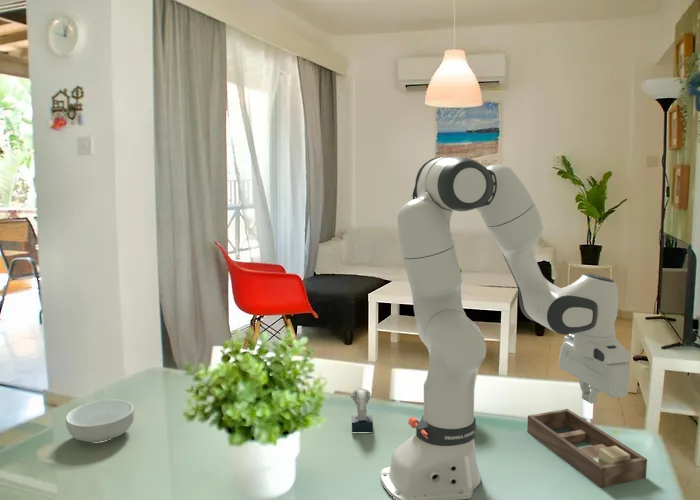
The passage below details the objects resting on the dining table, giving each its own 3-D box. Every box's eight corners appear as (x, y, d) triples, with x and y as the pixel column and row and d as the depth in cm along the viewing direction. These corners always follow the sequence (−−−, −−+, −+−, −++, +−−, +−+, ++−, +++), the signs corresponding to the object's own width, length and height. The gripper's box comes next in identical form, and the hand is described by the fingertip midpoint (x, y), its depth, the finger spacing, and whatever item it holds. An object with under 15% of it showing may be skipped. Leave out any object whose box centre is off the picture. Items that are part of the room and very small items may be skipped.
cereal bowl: (132, 446, 156) (130, 420, 155) (62, 456, 153) (59, 429, 151) (138, 419, 173) (136, 395, 172) (75, 426, 169) (72, 402, 168)
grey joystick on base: (371, 422, 167) (371, 384, 165) (373, 436, 159) (372, 396, 157) (351, 423, 167) (350, 384, 165) (351, 437, 159) (350, 397, 157)
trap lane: (600, 487, 133) (601, 468, 132) (527, 431, 159) (527, 415, 158) (645, 477, 136) (647, 459, 135) (566, 424, 163) (567, 408, 162)
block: (612, 473, 135) (613, 458, 134) (598, 463, 139) (599, 448, 138) (629, 469, 136) (629, 454, 136) (614, 459, 140) (615, 445, 140)
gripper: (554, 332, 149) (550, 385, 152) (612, 359, 130) (607, 420, 132) (576, 330, 151) (572, 383, 153) (637, 357, 132) (631, 417, 134)
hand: (588, 401), depth 143 cm, fingers closed
